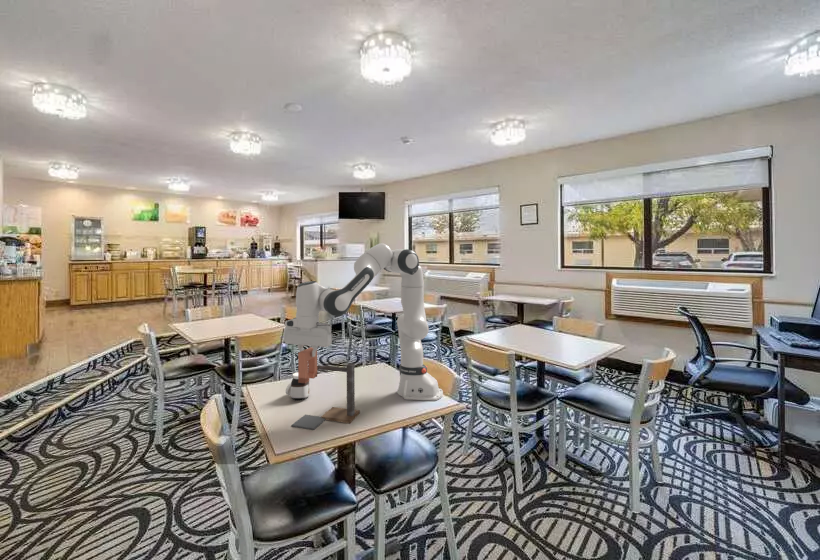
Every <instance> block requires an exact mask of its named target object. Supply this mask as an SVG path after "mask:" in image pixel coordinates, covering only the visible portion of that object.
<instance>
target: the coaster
mask: <svg viewBox="0 0 820 560" xmlns="http://www.w3.org/2000/svg"><path fill="white" fill-rule="evenodd" d="M325 421H326V420H325V418H321V416H319V415H311V414H304V415H303V416H302V417H300V418H299V419H298V420H296V421H295V422H294V423H292V424H291V427H292V428H299V429H306V430H312V431H315V429H317V428H318V427H319V426H321V424H323V422H325Z"/></svg>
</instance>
